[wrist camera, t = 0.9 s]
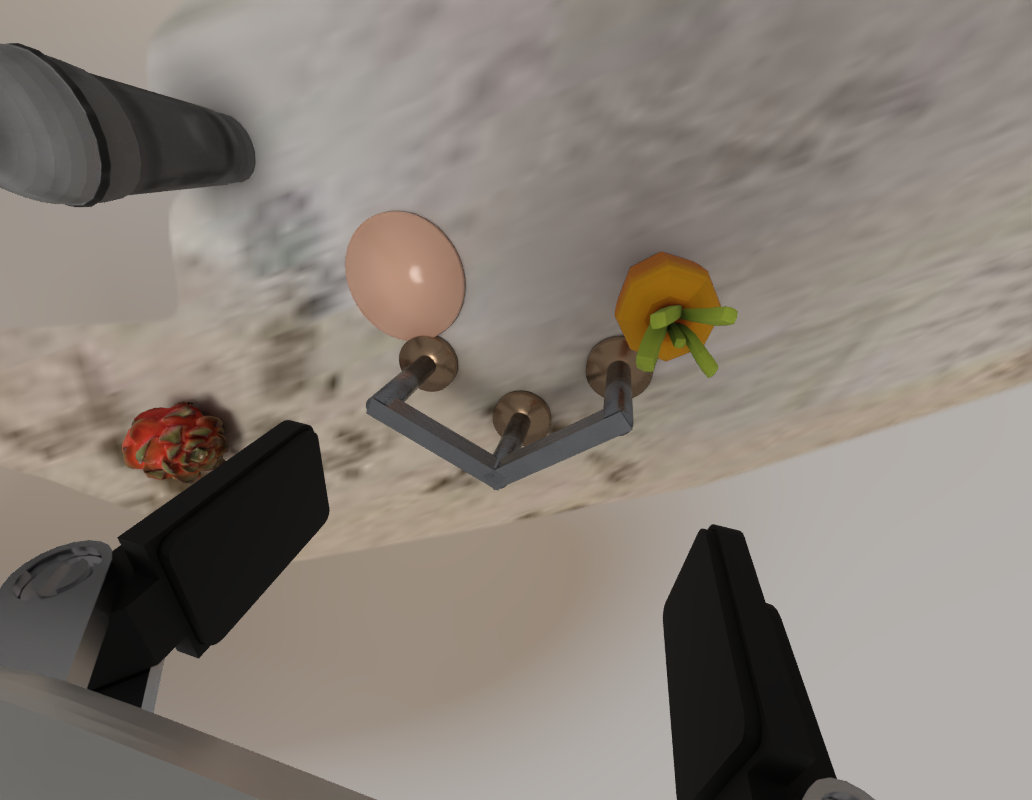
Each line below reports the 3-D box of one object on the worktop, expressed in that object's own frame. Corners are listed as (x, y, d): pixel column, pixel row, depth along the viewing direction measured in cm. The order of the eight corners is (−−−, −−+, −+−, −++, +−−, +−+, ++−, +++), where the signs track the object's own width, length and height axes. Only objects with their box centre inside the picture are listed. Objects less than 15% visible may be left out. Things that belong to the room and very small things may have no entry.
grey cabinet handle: (655, 336, 31) (666, 388, 23) (644, 448, 35) (650, 525, 27) (399, 333, 35) (335, 375, 28) (418, 432, 40) (368, 493, 32)
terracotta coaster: (456, 207, 30) (454, 207, 29) (471, 339, 34) (469, 342, 34) (336, 214, 32) (331, 215, 32) (364, 338, 37) (361, 340, 36)
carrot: (693, 232, 27) (758, 274, 14) (689, 307, 29) (742, 402, 16) (616, 241, 28) (610, 286, 15) (617, 311, 31) (613, 404, 18)
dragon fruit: (261, 411, 46) (208, 427, 52) (174, 377, 39) (125, 400, 45) (233, 487, 42) (179, 495, 48) (131, 463, 36) (84, 475, 41)
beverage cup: (277, 120, 30) (-199, 28, 13) (265, 218, 34) (-116, 251, 16) (187, 71, 30) (-418, -91, 12) (185, 174, 33) (-285, 161, 16)
